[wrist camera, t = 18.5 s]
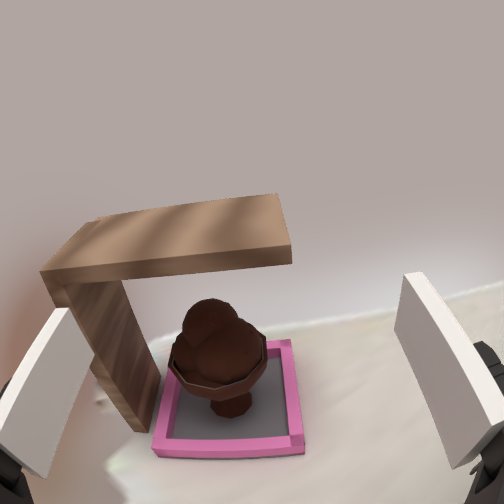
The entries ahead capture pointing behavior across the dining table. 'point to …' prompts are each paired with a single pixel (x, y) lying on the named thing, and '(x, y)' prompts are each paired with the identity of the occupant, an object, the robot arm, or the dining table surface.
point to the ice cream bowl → (219, 357)
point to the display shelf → (153, 265)
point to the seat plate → (235, 418)
